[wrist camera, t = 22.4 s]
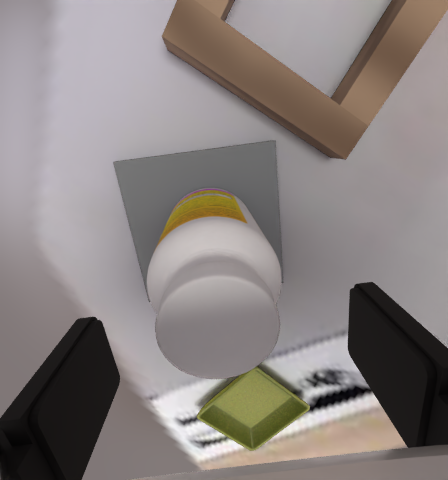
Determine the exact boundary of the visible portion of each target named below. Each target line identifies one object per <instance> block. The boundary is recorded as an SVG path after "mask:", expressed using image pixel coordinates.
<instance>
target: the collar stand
mask: <svg viewBox="0 0 448 480" xmlns="http://www.w3.org/2000/svg"><path fill="white" fill-rule="evenodd" d="M233 2H234V0H177V2H176V4H175V7H174V9H173V12H172V14H171V16H170V19H169V21H168V23H167V26H166V28H165V30H164V33H163V35H162V38H163V40H164V43H165V45H166V47H167V50H169V51H170V52H172V53H173V54H175V55H176V56H178V57H179V58H181V59H182V60H184V61H185V62H187V63H188V64H190V65H191V66H193V67H194V68H196V69H197V70H199V71H200V72H202V73H203V74H205V75H206V76H208V77H209V78H211V79H212V80H214V81H215V82H217V83H218V84H220V85H221V86H223V87H225V88H226V89H228V90H229V91H231V92H232V93H234V94H235V95H237V96H238V97H240V98H241V99H243V100H244V101H246V102H247V103H249V104H250V105H252V106H253V107H255V108H256V109H258V110H259V111H261V112H262V113H264V114H265V115H267V116H268V117H270V118H271V119H273V120H274V121H276V122H277V123H279V124H280V125H282V126H284V127H285V128H287V129H288V130H290V131H291V132H293V133H294V134H296V135H297V136H299V137H300V138H302V139H303V140H305V141H306V142H308V143H309V144H311V145H312V146H314V147H315V148H317V149H318V150H320V151H321V152H323V153H324V154H326V155H327V156H329V157H331V158H338V159H346V158H347V157H348V155H349V154H350V152H351V151H352V150H353V148H354V147H355V145H356V144H357V142H358V141H359V139H360V138H361V136H362V135H363V133H364V132H365V130H366V129H367V127H368V126H369V124H370V123H371V122H372V120H373V119H374V117H375V116H376V114H377V113H378V111H379V110H380V108H381V107H382V105H383V104H384V102H385V101H386V99H387V98H388V97H389V95H390V94H391V92H392V91H393V89H394V88H395V86H396V85H397V83H398V82H399V80H400V79H401V77H402V76H403V74H404V73H405V71H406V70H407V69H408V67H409V66H410V64H411V63H412V61H413V60H414V58H415V57H416V55H417V54H418V52H419V51H420V49H421V48H422V46H423V45H424V43H425V42H426V41H427V39H428V38H429V36H430V35H431V33H432V32H433V30H434V29H435V27H436V26H437V24H438V23H439V21H440V20H441V18H442V17H443V15H444V14H445V13H446V11H447V10H448V0H392V1H391V3H390V4H389V6H388V8H387V9H386V11H385V12H384V14H383V16H382V17H381V19H380V20H379V22H378V24H377V25H376V27H375V29H374V30H373V32H372V33H371V35H370V37H369V38H368V40H367V41H366V43H365V45H364V46H363V48H362V49H361V51H360V53H359V54H358V56H357V57H356V59H355V61H354V62H353V64H352V66H351V67H350V69H349V70H348V72H347V74H346V75H345V77H344V78H343V80H342V82H341V83H340V85H339V86H338V88H337V90H336V91H335V93H334V94H333V96H332V98H329V97H328V96H326V95H325V94H324V93H322V92H321V91H320V90H318V89H317V88H315V87H314V86H313V85H311V84H310V83H309V82H307V81H306V80H304V79H303V78H302V77H300V76H299V75H297V74H296V73H295V72H293V71H292V70H291V69H289V68H288V67H286V66H285V65H284V64H282V63H281V62H279V61H278V60H277V59H275V58H274V57H273V56H271V55H270V54H268V53H267V52H266V51H264V50H263V49H262V48H260V47H259V46H257V45H256V44H255V43H253V42H252V41H250V40H249V39H248V38H246V37H245V36H244V35H242V34H241V33H239V32H238V31H237V30H235V29H234V28H232V27H231V26H230V25H228V24H227V23H226V22H224V21H225V19H226V17H227V15H228V13H229V11H230V9H231V7H232V5H233Z"/></svg>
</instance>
